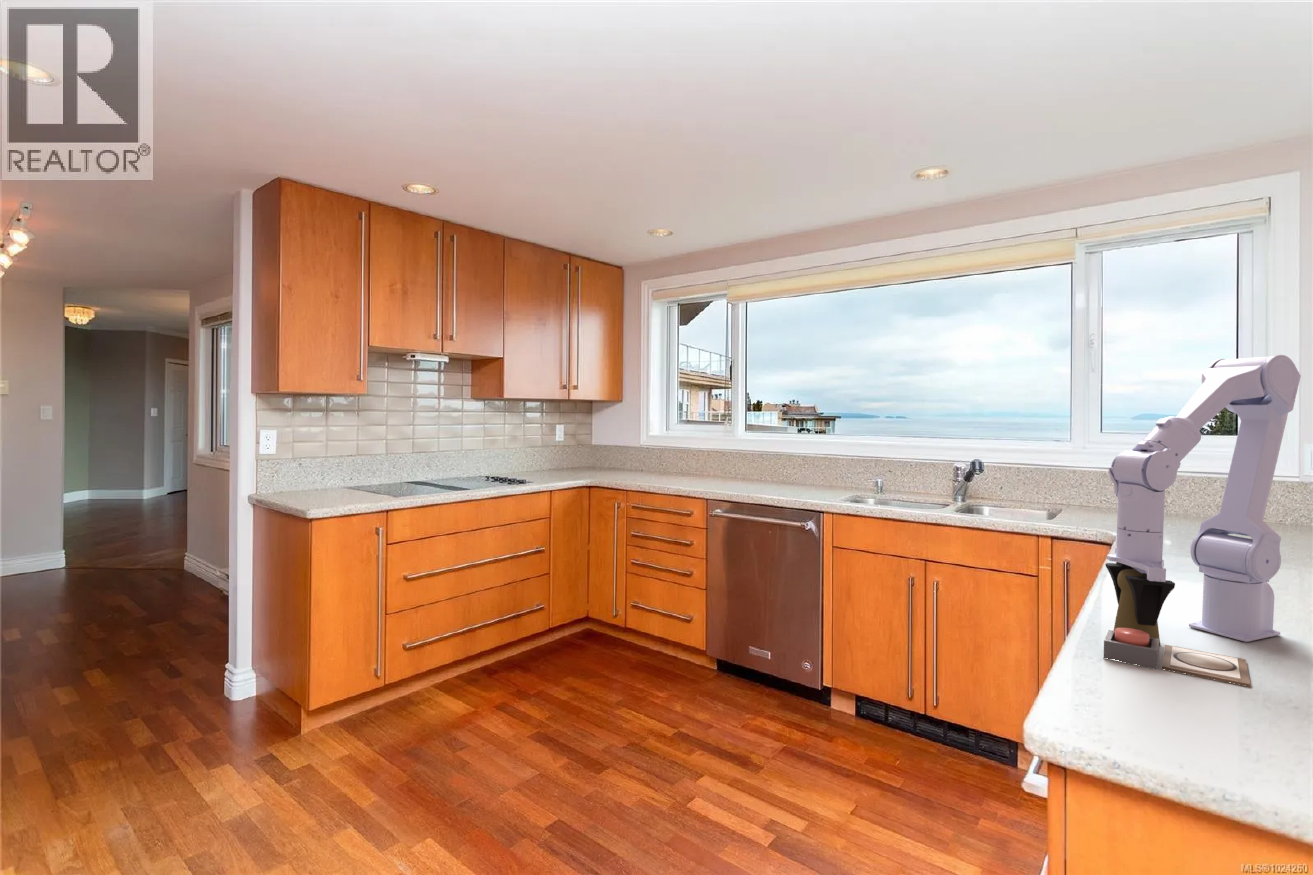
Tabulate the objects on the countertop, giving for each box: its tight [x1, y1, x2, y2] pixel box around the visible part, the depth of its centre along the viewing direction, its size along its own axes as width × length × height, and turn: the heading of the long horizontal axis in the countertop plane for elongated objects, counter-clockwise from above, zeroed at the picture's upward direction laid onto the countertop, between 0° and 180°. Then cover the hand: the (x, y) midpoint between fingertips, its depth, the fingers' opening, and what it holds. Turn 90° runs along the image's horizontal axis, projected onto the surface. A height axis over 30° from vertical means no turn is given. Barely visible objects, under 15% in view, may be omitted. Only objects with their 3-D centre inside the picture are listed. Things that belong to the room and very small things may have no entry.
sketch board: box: [1161, 644, 1251, 688], centre depth 91 cm, size 11×9×1 cm
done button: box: [1115, 628, 1149, 647], centre depth 93 cm, size 4×4×2 cm
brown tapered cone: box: [1112, 569, 1161, 647], centre depth 100 cm, size 6×6×11 cm
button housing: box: [1103, 629, 1160, 670], centre depth 94 cm, size 6×6×3 cm
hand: (1136, 616), depth 100 cm, fingers open, 7 cm apart
